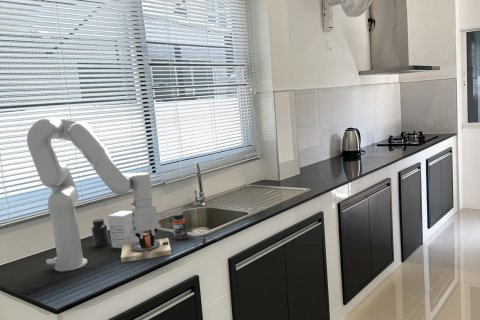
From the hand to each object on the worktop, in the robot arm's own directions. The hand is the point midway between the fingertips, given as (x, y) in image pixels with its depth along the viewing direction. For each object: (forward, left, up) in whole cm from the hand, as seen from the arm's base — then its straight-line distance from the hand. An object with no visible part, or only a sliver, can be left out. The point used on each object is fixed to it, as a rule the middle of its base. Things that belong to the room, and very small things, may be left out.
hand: (147, 245), depth 185 cm
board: (-1, +5, -4) cm, 6 cm away
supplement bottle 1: (-21, +26, -4) cm, 33 cm away
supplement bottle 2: (+15, +18, -4) cm, 24 cm away
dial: (-1, +4, -2) cm, 5 cm away
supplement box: (-10, +20, -4) cm, 22 cm away
